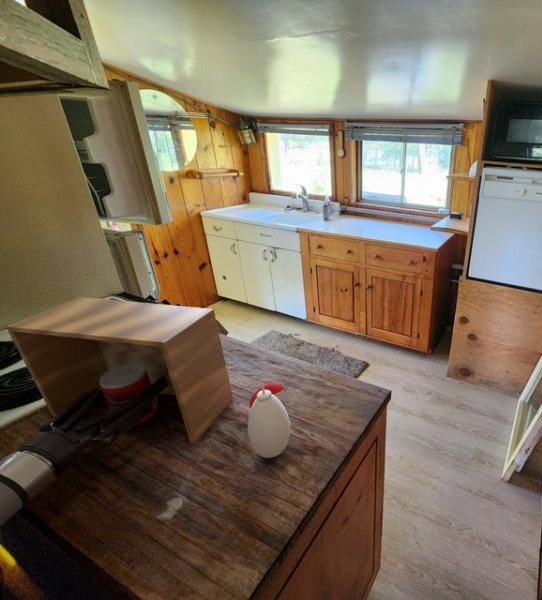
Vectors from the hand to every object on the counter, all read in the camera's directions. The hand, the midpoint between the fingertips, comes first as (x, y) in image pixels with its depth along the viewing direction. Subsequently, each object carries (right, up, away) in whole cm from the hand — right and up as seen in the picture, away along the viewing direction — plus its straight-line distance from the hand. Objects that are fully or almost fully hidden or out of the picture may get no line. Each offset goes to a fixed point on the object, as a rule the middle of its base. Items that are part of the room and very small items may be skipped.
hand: (147, 379), depth 74 cm
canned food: (-1, -8, -2) cm, 8 cm away
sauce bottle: (+32, -14, -7) cm, 35 cm away
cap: (+26, -8, +4) cm, 28 cm away
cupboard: (0, -8, +2) cm, 8 cm away
